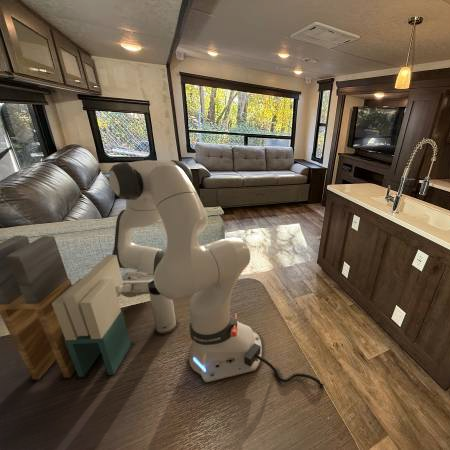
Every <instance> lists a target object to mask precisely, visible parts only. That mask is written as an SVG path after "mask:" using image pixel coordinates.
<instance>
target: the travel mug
mask: <svg viewBox="0 0 450 450" xmlns="http://www.w3.org/2000/svg"><path fill="white" fill-rule="evenodd" d="M148 288H149V294H148V295H149V300H150V305H151V310H152V315H153V321H154V327H155V331H156V332H157V333H158V334H161V335H162V334H169V333H171V332H172V331H173V330H174V329H175V328H176V326H177V321H176V314H175V308H174V307H175V306H174V300H171V299H168V298H166V297H164V296H163V295H161V294H160V293H159V292H158V290H157V289H156V287H155V284H154V280H153V281H151V282H150V283H149V284H148Z"/></svg>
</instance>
